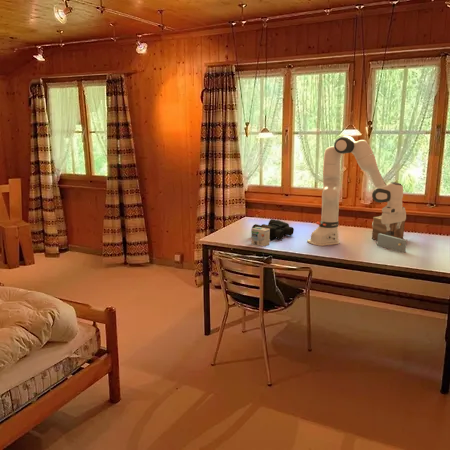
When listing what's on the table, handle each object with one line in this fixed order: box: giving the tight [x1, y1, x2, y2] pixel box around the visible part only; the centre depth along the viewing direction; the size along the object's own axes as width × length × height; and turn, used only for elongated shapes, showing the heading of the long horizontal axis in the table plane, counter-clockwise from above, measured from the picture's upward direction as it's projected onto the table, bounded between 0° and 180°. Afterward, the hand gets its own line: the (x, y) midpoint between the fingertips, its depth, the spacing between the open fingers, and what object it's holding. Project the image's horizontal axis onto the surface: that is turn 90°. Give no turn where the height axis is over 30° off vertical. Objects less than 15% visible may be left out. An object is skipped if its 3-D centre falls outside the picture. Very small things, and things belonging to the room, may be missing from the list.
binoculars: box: [250, 219, 295, 241], centre depth 316 cm, size 29×20×10 cm
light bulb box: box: [250, 227, 270, 247], centre depth 295 cm, size 11×7×11 cm, turn 56°
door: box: [376, 233, 408, 254], centre depth 284 cm, size 20×4×8 cm, turn 32°
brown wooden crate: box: [371, 215, 406, 241], centre depth 306 cm, size 20×15×15 cm
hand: (393, 229), depth 282 cm, fingers open, 8 cm apart
